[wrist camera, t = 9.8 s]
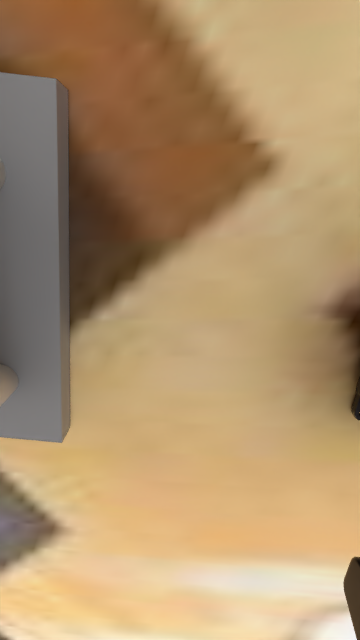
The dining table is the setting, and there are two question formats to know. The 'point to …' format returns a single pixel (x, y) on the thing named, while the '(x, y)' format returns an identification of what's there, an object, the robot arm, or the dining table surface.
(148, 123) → the dining table surface
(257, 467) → the dining table surface
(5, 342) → the grey base with posts
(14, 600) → the dining table surface
